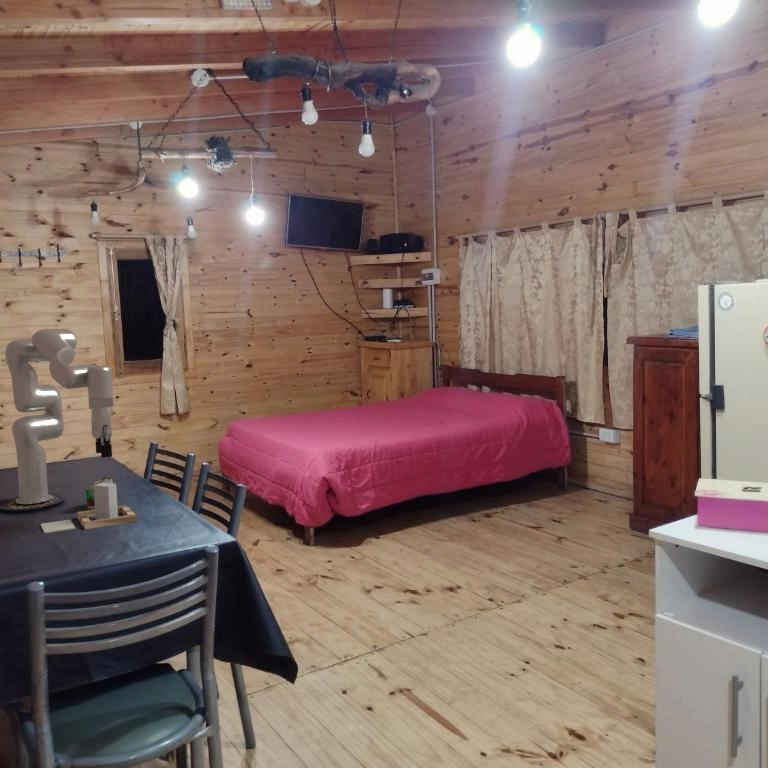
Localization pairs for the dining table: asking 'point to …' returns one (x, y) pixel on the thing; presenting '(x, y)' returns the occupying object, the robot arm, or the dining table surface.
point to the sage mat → (57, 526)
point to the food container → (90, 491)
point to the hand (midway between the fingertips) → (104, 454)
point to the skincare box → (105, 501)
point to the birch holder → (87, 524)
